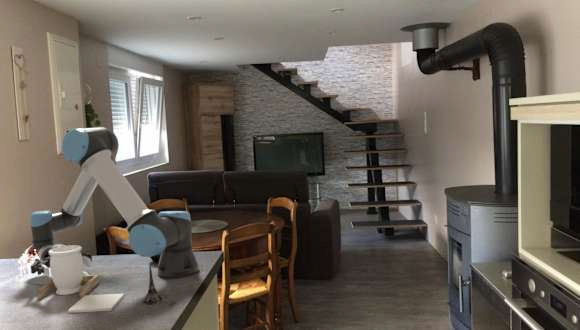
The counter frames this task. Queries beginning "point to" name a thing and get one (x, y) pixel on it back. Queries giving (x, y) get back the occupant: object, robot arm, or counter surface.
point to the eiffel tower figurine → (154, 294)
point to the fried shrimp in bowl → (156, 258)
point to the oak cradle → (89, 284)
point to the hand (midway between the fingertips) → (69, 267)
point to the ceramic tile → (96, 303)
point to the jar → (66, 268)
